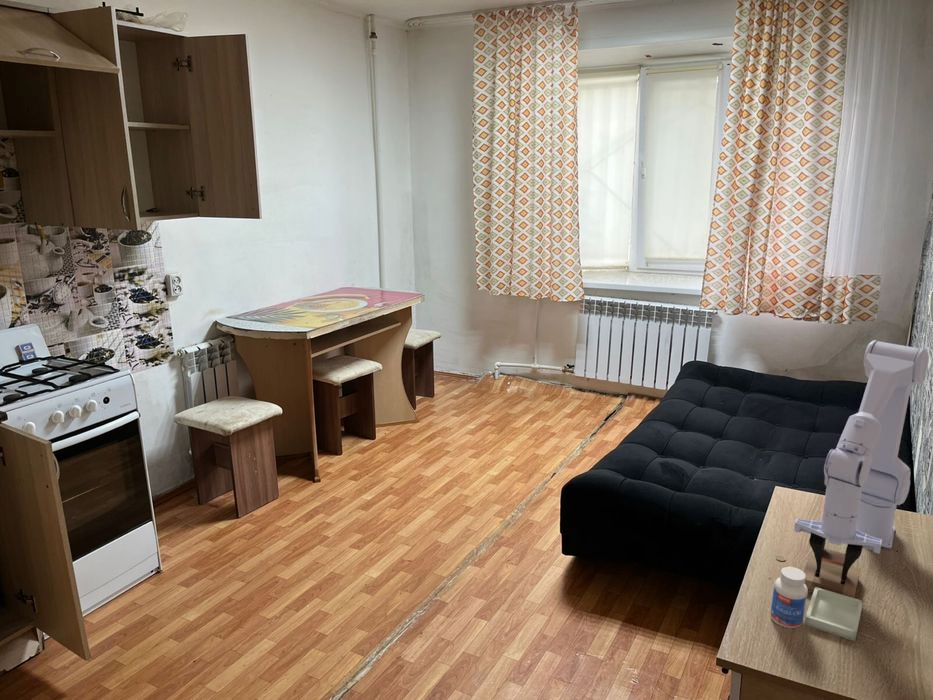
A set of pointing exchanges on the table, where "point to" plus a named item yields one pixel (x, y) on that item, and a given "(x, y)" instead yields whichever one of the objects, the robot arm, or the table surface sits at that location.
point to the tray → (834, 613)
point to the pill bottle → (789, 598)
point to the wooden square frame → (814, 581)
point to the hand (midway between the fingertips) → (831, 572)
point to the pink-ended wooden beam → (832, 565)
